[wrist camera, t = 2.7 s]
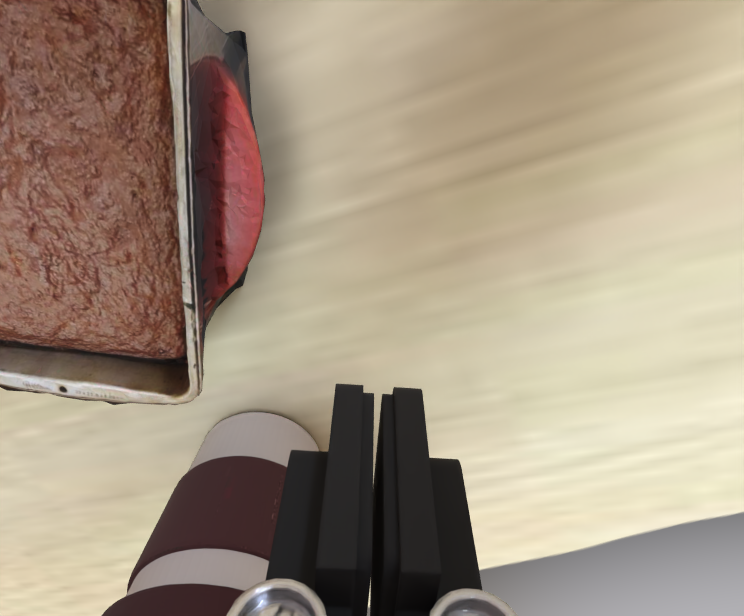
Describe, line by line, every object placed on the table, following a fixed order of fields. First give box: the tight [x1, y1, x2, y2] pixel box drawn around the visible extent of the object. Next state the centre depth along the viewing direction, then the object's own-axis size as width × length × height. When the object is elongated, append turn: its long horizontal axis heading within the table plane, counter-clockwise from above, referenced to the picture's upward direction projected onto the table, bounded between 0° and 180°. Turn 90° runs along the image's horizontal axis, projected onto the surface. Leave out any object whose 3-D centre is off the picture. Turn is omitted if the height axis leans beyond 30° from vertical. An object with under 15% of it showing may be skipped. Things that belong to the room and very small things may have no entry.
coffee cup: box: [102, 412, 319, 616], centre depth 28 cm, size 10×10×15 cm
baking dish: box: [0, 0, 265, 405], centre depth 22 cm, size 14×18×10 cm
